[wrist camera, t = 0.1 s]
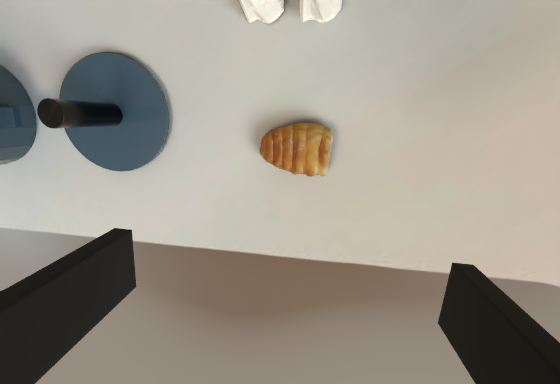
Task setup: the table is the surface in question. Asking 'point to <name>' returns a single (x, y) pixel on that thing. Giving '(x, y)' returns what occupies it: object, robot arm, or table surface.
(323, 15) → the shaker set
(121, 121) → the lid
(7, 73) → the pot
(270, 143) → the pastry
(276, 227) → the table surface
